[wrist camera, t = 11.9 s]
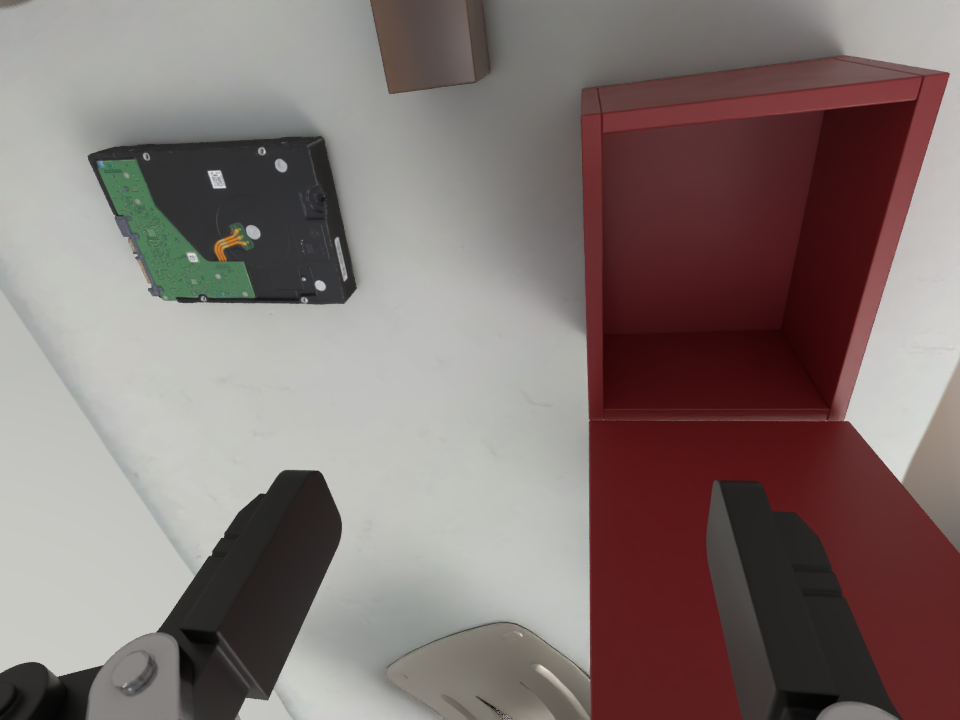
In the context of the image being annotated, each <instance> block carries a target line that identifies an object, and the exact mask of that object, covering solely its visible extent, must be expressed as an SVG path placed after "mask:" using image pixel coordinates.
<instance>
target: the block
mask: <svg viewBox="0 0 960 720" xmlns="http://www.w3.org/2000/svg"><path fill="white" fill-rule="evenodd" d="M370 2H371V7H372V12H373V17H374V22H375V27H376V32H377V37H378V41H379V46H380V51H381V56H382V61H383V66H384V71H385V76H386V81H387V86H388V91H389V94H395V93H402V92H410V91H417V90H425V89H432V88H440V87H447V86H455V85H462V84H469V83H476V82H477V81H479V80H480V79H482V78H483V77H485V76H486V75H488V74H489V73H490V68H489V59H488V49H487V40H486V31H485V21H484V12H483V3H482V0H370Z"/></svg>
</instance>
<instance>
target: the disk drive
mask: <svg viewBox="0 0 960 720" xmlns="http://www.w3.org/2000/svg"><path fill="white" fill-rule="evenodd" d="M87 157H88V160H89V162H90V164H91V166H92V168H93V171H94V173H95V175H96V177H97V179H98V181H99V183H100V186H101V188H102V190H103V192H104V195H105V197H106V199H107V201H108V203H109V206H110V208H111V209H112V212H113V214H114V215H116V216H115V220H116V223H117V225H118V227H119V229H120V231H121V233H122V235H123V237H130V238H129V239H128V241H129V243H130V245H131V247H132V249H133V254H138V257H135V258H136V259H137V261H138V263H139V265H140V267H141V269H142V271H143V273H144V275H145V278H146V280H147V282H148V283H149V284H151V285H152V288H148V291H149V292H150V293H151V295H152V296H159V297H160V298H162V299H163V300H166V301H175V300H177V302H179V303H196V302H200V303H201V302H209V303H217V302H218V303H290V304H305V303H306V304H316V305H317V304H321V305H322V304H344V303H345V302H346V301H347V300H348V299H349V297H350V296H351V295H352V294H353V292H354V291H355V290H356V289H357V287H356V283H355V278H354V274H353V269H352V264H351V258H350V254H349V249H348V245H347V241H346V236H345V231H344V226H343V222H342V218H341V213H340V208H339V204H338V199H337V195H336V191H335V185H334V181H333V176H332V172H331V168H330V164H329V160H328V156H327V151H326V147H325V141H324V139H323V137H321V136H319V137H315V138H314V137H285V138H279V139H265V140H264V139H261V140H241V141H225V142H223V141H222V142H210V143H209V142H206V143H202V142H200V143H182V144H164V145H163V144H161V145H154V144H146V145H137V146H120V147H113V148H108V149H105V150H102V151H98V152H96V153H92V154H90V155H88V156H87Z"/></svg>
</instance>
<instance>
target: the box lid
mask: <svg viewBox="0 0 960 720" xmlns="http://www.w3.org/2000/svg"><path fill="white" fill-rule="evenodd" d="M715 480H744V481H759V482H760V483H761V484H762V486H763V488H764V490H765V493H766V495H767V498H768V501H769V504H770V506H771V509H772V511H779V512H796V513H797V515H798V516H799V517H800V518H801V519H802V520H803V521H804V522H805V523H806V524H807V525H808V526H809V527H810V528H811V529H812V530H813V531H814V532H815V533H816V534H817V536H818V537H819V538H820V540H821V543H822V545H823V547H824V550H825V552H826V554H827V557H828V559H829V561H830V563H831V566H832V572H834V573H835V575H836V577H837V579H838V582H839V584H840V586H841V589H842V594H843V597H845V598H846V600H847V602H848V605H849V607H850V609H851V612H852V614H853V616H854V618H855V621H856V623H857V625H858V628H859V630H860V632H861V635H862V637H863V639H864V641H865V644H866V646H867V648H868V651H869V653H870V655H871V658H872V660H873V662H874V664H875V667H876V669H877V671H878V674H879V676H880V678H881V680H882V683H883V685H884V687H885V690H886V692H887V694H888V696H889V698H890V700H891V702H892V704H893V705H894V707H895V708H896V710H897V711H898V713H899V714H900V716H901V717H902V718H903V719H904V720H960V553H959V552H958V551H957V550H956V548H955V547H954V546H953V545H952V544H951V543H950V541H949V540H948V539H947V538H946V537H945V535H944V534H943V533H942V532H941V531H940V529H939V528H938V527H937V526H936V525H935V524H934V522H933V521H932V520H931V519H930V518H929V516H928V515H927V514H926V513H925V512H924V510H923V509H922V508H921V507H920V506H919V504H918V503H917V502H916V501H915V500H914V498H913V497H912V496H911V495H910V494H909V492H908V491H907V490H906V489H905V488H904V486H903V485H902V484H901V483H900V482H899V480H898V479H897V478H896V477H895V476H894V475H893V473H892V472H891V471H890V470H889V469H888V467H887V466H886V465H885V464H884V463H883V461H882V460H881V459H880V458H879V457H878V455H877V454H876V453H875V452H874V451H873V449H872V448H871V447H870V446H869V445H868V444H867V442H866V441H865V440H864V439H863V438H862V436H861V435H860V434H859V433H858V432H857V430H856V429H855V428H854V427H853V426H852V424H851V423H850V422H848V421H649V420H590V421H589V540H590V720H742V717H741V713H740V708H739V703H738V699H737V694H736V690H735V685H734V680H733V676H732V671H731V667H730V662H729V657H728V653H727V648H726V644H725V639H724V634H723V630H722V625H721V621H720V616H719V611H718V607H717V602H716V598H715V593H714V589H713V584H712V579H711V575H710V570H709V565H708V559H707V550H706V531H707V524H708V517H709V509H710V502H711V495H712V488H713V483H714V481H715Z"/></svg>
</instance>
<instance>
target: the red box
mask: <svg viewBox="0 0 960 720" xmlns="http://www.w3.org/2000/svg"><path fill="white" fill-rule="evenodd" d="M949 75H950V73H948V72H942V71H936V70H930V69H924V68H918V67H912V66H907V65H901V64H895V63H889V62H883V61H877V60H871V59H865V58H859V57H851V56H846V55H845V56H837V57H829V58H822V59H814V60H806V61H798V62H790V63H782V64H774V65H766V66H758V67H750V68H742V69H734V70H726V71H718V72H711V73H703V74H695V75H687V76H679V77H671V78H663V79H655V80H647V81H639V82H631V83H623V84H615V85H608V86H600V87H592V88H584V89H582V101H581V141H582V178H583V216H584V254H585V291H586V329H587V366H588V404H589V420H603V419H604V420H706V421H826V420H827V421H844V418H845V415H846V412H847V409H848V405H849V402H850V399H851V395H852V392H853V389H854V386H855V382H856V379H857V376H858V373H859V369H860V366H861V363H862V359H863V356H864V353H865V350H866V346H867V343H868V340H869V337H870V333H871V330H872V327H873V323H874V320H875V317H876V314H877V310H878V307H879V304H880V301H881V297H882V294H883V291H884V287H885V284H886V281H887V278H888V274H889V271H890V268H891V265H892V261H893V258H894V255H895V251H896V248H897V245H898V242H899V238H900V235H901V232H902V229H903V225H904V222H905V219H906V215H907V212H908V209H909V206H910V202H911V199H912V196H913V193H914V189H915V186H916V183H917V179H918V176H919V173H920V170H921V166H922V163H923V160H924V157H925V153H926V150H927V147H928V144H929V140H930V137H931V134H932V130H933V127H934V124H935V121H936V117H937V114H938V111H939V108H940V104H941V101H942V98H943V94H944V91H945V88H946V85H947V81H948V78H949Z"/></svg>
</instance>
